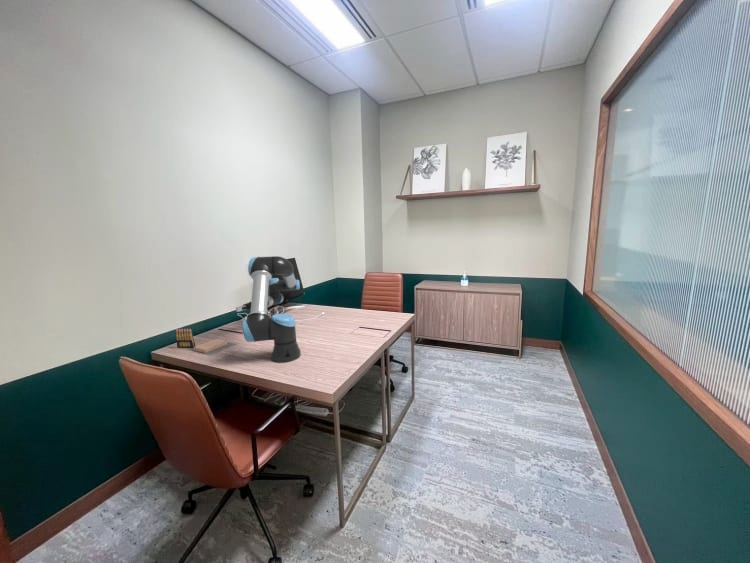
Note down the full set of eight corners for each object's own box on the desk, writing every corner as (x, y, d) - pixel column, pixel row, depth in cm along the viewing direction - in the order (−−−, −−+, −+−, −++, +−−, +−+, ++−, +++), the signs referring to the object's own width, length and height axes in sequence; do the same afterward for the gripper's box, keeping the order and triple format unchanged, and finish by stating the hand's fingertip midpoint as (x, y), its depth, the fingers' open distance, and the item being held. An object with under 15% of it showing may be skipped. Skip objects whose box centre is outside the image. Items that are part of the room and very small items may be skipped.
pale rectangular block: (226, 341, 179) (205, 349, 167) (227, 344, 180) (205, 353, 167) (216, 339, 184) (194, 347, 171) (216, 342, 184) (194, 350, 172)
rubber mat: (237, 344, 180) (237, 344, 180) (210, 355, 165) (210, 355, 164) (216, 340, 189) (216, 339, 189) (188, 350, 173) (188, 349, 173)
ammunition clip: (177, 348, 177) (174, 329, 175) (179, 347, 179) (176, 328, 177) (193, 348, 175) (190, 329, 174) (195, 347, 177) (192, 328, 175)
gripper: (272, 307, 206) (244, 316, 185) (258, 306, 212) (230, 314, 191) (271, 297, 205) (243, 304, 184) (257, 296, 211) (229, 303, 190)
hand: (236, 309), depth 187 cm, fingers closed
